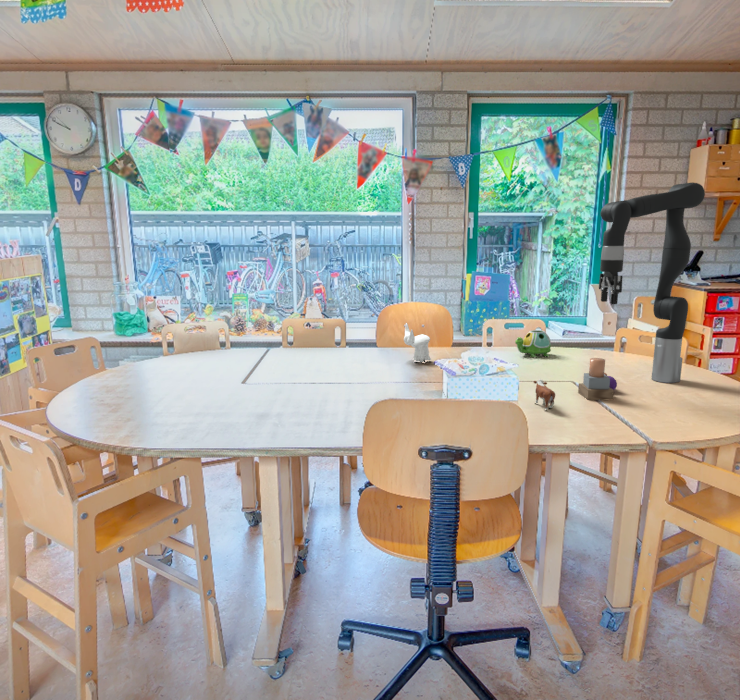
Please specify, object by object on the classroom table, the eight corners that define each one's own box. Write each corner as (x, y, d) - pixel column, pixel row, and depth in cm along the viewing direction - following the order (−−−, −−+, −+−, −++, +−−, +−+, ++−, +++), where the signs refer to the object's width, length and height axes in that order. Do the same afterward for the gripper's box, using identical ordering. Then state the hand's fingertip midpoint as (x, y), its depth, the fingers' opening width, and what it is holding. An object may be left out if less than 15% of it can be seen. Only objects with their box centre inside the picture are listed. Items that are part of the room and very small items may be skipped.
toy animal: (402, 357, 264) (400, 323, 260) (427, 355, 264) (426, 321, 261) (407, 367, 244) (405, 329, 241) (434, 365, 245) (433, 328, 241)
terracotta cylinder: (600, 374, 197) (602, 357, 196) (606, 377, 192) (607, 361, 191) (586, 374, 197) (588, 357, 196) (591, 377, 192) (592, 361, 191)
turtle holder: (508, 354, 267) (509, 330, 265) (542, 351, 271) (543, 328, 269) (520, 359, 256) (522, 334, 253) (555, 357, 260) (557, 332, 257)
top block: (603, 384, 198) (603, 373, 198) (609, 389, 192) (610, 378, 191) (583, 383, 199) (583, 373, 198) (588, 388, 192) (589, 378, 192)
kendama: (612, 371, 216) (619, 379, 197) (608, 385, 217) (615, 395, 198) (597, 367, 218) (602, 375, 199) (593, 381, 219) (598, 391, 200)
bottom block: (602, 393, 200) (603, 383, 200) (613, 401, 192) (614, 390, 191) (578, 393, 201) (578, 383, 200) (587, 401, 192) (588, 390, 191)
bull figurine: (542, 400, 192) (543, 377, 190) (556, 412, 179) (558, 388, 177) (530, 400, 192) (531, 378, 190) (543, 412, 179) (544, 388, 177)
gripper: (631, 259, 192) (627, 305, 195) (614, 257, 206) (610, 300, 209) (610, 259, 192) (606, 305, 195) (594, 258, 206) (591, 300, 209)
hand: (608, 302), depth 202 cm, fingers open, 8 cm apart
